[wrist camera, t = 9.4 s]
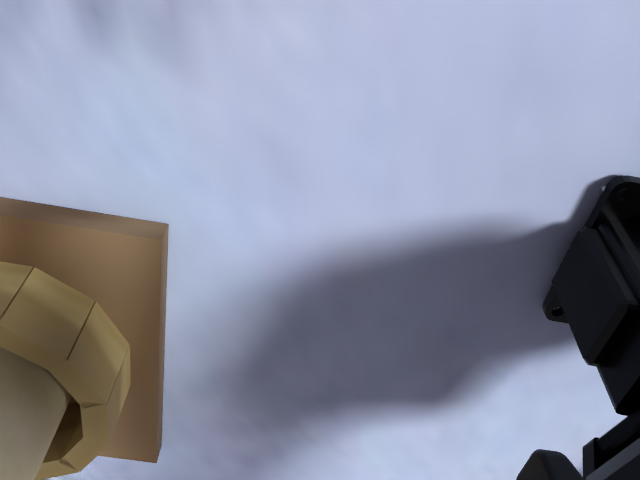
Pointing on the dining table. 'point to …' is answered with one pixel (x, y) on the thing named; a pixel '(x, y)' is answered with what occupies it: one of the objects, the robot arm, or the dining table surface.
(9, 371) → the candle
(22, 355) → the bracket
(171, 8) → the dining table surface
